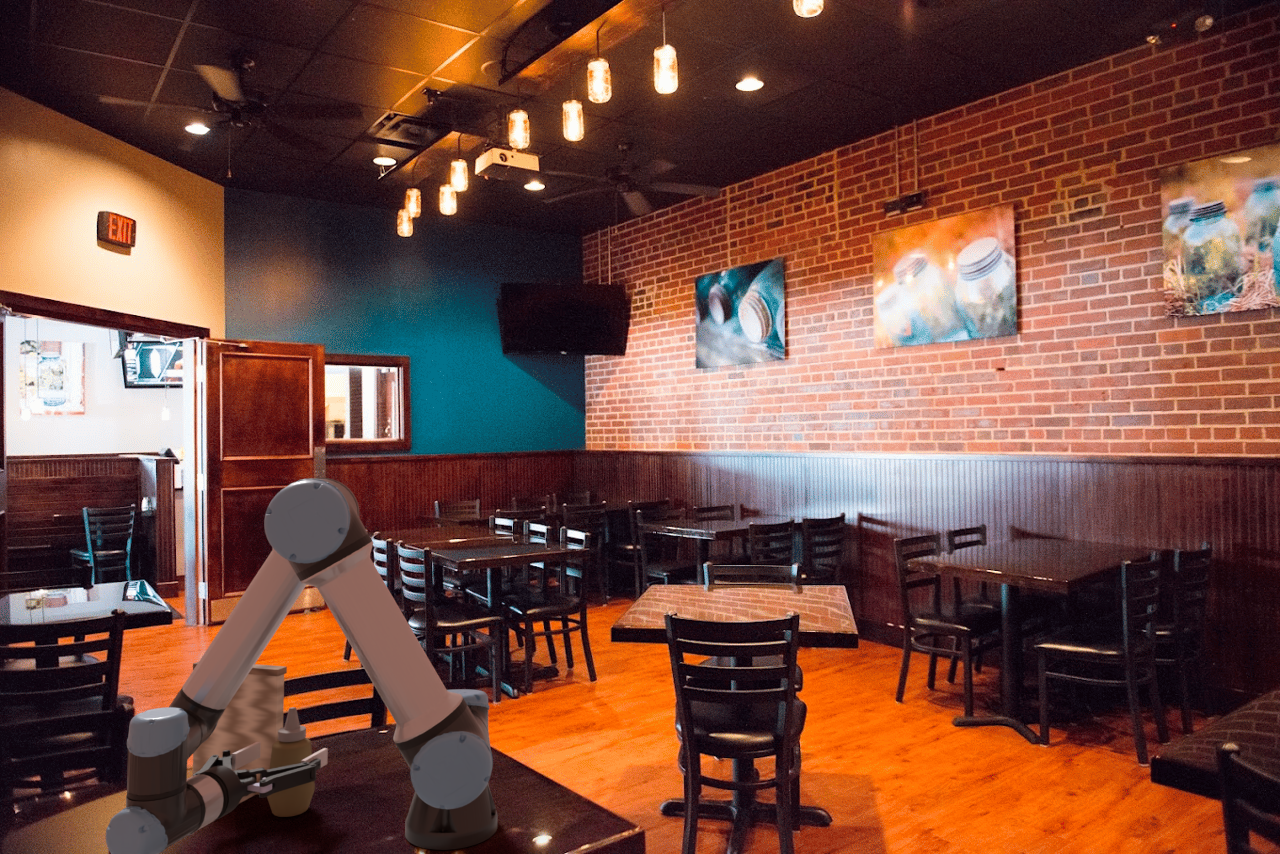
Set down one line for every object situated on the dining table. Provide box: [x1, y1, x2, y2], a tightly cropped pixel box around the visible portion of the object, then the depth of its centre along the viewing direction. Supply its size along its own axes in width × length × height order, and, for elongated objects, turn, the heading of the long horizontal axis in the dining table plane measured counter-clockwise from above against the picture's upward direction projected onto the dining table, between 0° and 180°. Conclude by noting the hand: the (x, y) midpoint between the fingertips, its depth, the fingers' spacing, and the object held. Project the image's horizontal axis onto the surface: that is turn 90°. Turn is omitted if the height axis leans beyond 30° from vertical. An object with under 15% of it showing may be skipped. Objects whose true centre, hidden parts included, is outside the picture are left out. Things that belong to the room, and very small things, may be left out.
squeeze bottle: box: [266, 706, 316, 818], centre depth 152 cm, size 8×8×18 cm
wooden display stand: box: [187, 661, 288, 804], centre depth 157 cm, size 19×13×23 cm
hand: (292, 752), depth 153 cm, fingers open, 13 cm apart
